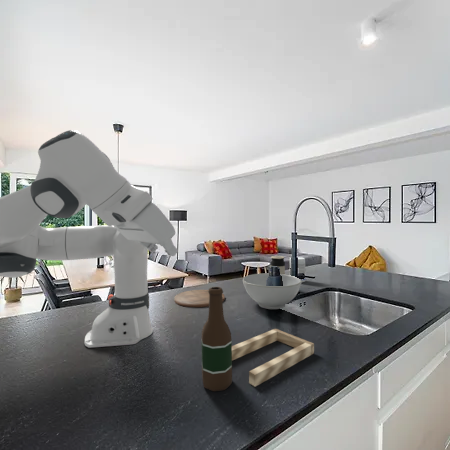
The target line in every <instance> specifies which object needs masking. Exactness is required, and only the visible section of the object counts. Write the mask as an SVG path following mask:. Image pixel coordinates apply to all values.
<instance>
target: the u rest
mask: <svg viewBox="0 0 450 450" xmlns="http://www.w3.org/2000/svg"><path fill="white" fill-rule="evenodd" d="M277 341H278V342H280V343H282V344H285V345H288V346H290V347H291V348H292V349H290V350H289V351H287V352H285V353H283V354H281V355H279V356H276V357H274V358H272V359H271V360H269V361H267V362H264V363H263V364H261V365H259V366H256V367H255V368H253V369H251V370H249V371H248V374H249V375H248V380H249V381H248V384H250V385H252V386H253V387H254V388H256V387H257V386H259V385H261V384H262V383H264V382H267V381H268V380H270V379H272V378H273V377H275V376H277V375H278V374H280V373H282V372H283V371H284V372H285V370H287V369H289V368H291V367H293V366H295V365H296V364H298V363H299V362H301V361H303V360H305V359H307V358H308V357H310V356H312V355H314V353H315V343H314V342H311V341H309V340H306V339H304V338H300V337H298V336H297V335H296V336H295V335H293V334H290V333H288V332H285V331H282V330H280V329H278V328H273V329H271V330H268V331H266V332H264V333H260V334H258V335H257V336H256V335H255V336H253V337H251V338H249V339H247V340H244V341H241V342H238V343H237V344H234V345H232V362H233V361H234V360H237V359H239V358H242V357H243V356H245V355H246V356H247V355H248V354H250V353H253V352H255V351H257V350H259V349H261V348H263V347H266V346H268V345H270V344H272V343H274V342H277Z"/></svg>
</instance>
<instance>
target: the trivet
mask: <svg viewBox="0 0 450 450" xmlns="http://www.w3.org/2000/svg"><path fill="white" fill-rule="evenodd" d="M208 291H209V289H193V290H186V291H182V292H179V293H177V294H176V295H175V296H174V298H173V299H174V303H175V304H176V305H178V306H180V307H181V306H182V307H186V308H195V309H196V308H209V292H208ZM225 299H226V298H225V294H224V292H223V293H222V302H223V303H224V301H225Z"/></svg>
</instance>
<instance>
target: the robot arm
mask: <svg viewBox="0 0 450 450" xmlns="http://www.w3.org/2000/svg"><path fill="white" fill-rule="evenodd" d="M37 153H38V157H39V159H40V163H39V169H38V172H37V174H36V176H35V179H34V180H33V182H31V184H30V185H28V186H26V187H23V188H21V189H19V190H16V191H13V192H11V193H8V194H6V195H3V196H1V197H0V276H1V277H4V278H9V279H10V278H14V279H15V278H19V277H23V276H25V275H29V274H31V273H32V272H33V271H34V270H35V268H36V265H37V262H38V261H37V259H38V260H41V261H42V260H43V261H75V260H77V261H78V260H90V259H99V258H105V257H111V256H113V273H114V294H112V293H111V294H109V295H108V296H107V300H108V307H107V308H106V309H104V311H102V312H101V313H99V314H98V316H96V317H95V319H94V321H93V322H92V326H91V330H89V331H88V332H87V333H86V335H85V336H84V341H83V343H84V346H85V347H87V348H101V347H102V348H103V347H114V346H116V347H117V346H128V345H136V344H138V343H139V342H140V341H141V340H143V339H146V338H148V337H149V336H150V335H152V334H153V332H154V328H153V326H152V323H151V318H150V311H149V309H150V294H149V292H148V257H149V254H148V253H149V252H150V253H155V252H156V251H157V250H158V249H159V247H158V245H160V247H162V248H163V249H164V252H165V253H166V254H167V255H168V256H171V257H175V256H176V255H177V254H178V253H179V250H178V248H177V247H176V246H175V245H174V243H173V239H172V238H174V236H175V235H176V230H175V229H176V228H175V227H174V225H173V224H172V222H170V220H169V219H168V218H167V216H166V215H165V214H164V212H163V211H162V210H161V208H159V207H158V206H157V205H156V204H155V203H154V202H152V200H153V197H152V195H151V194H150V193H149V192H148V191H146V190H145V189H141V188H139V187H138V188H137V187H136V186H134V185H132V184H131V182H129V180H128V179H127V178H126V177H124V176H123V175H121V174H120V173H119V172H118V171H117V170H116V169H115V167H114V164H113V163H112V162H111V161H112V160H110V157H108V155H106V153H104V152H103V151H102V150H101V149H100V148H99V147H98V146H97V145H96V144H95V143H94V142H93V141H92V140H90V139H89V137H87V136H86V135H84V133H81V132H80V131H78V130H71V129H70V130H66V131H64V132H61V133H59V134H57V135H56V136H55V137H52V138H50V139H49V140H46V141H45V142H44V143H42V144H41V145H40V147H39V148H38V151H37ZM86 205H87V206H88V208H89V209H90V210H91V211H92V212H94V214H95V215H96V216H97V217H98V218H100V220H101V221H103V223H104V225H85V226H83V225H82V226H81V225H79V226H63V227H62V226H61V227H51V228H48V227H45V226H42V225H40V224H42V223H44V222H45V219H46V218H47V216H49V217H53V218H56V219H69V218H71V217H73V216H74V215H76V214H78V213H79V212H81V211H82V209H83V208H85V206H86ZM148 251H149V252H148Z"/></svg>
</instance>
